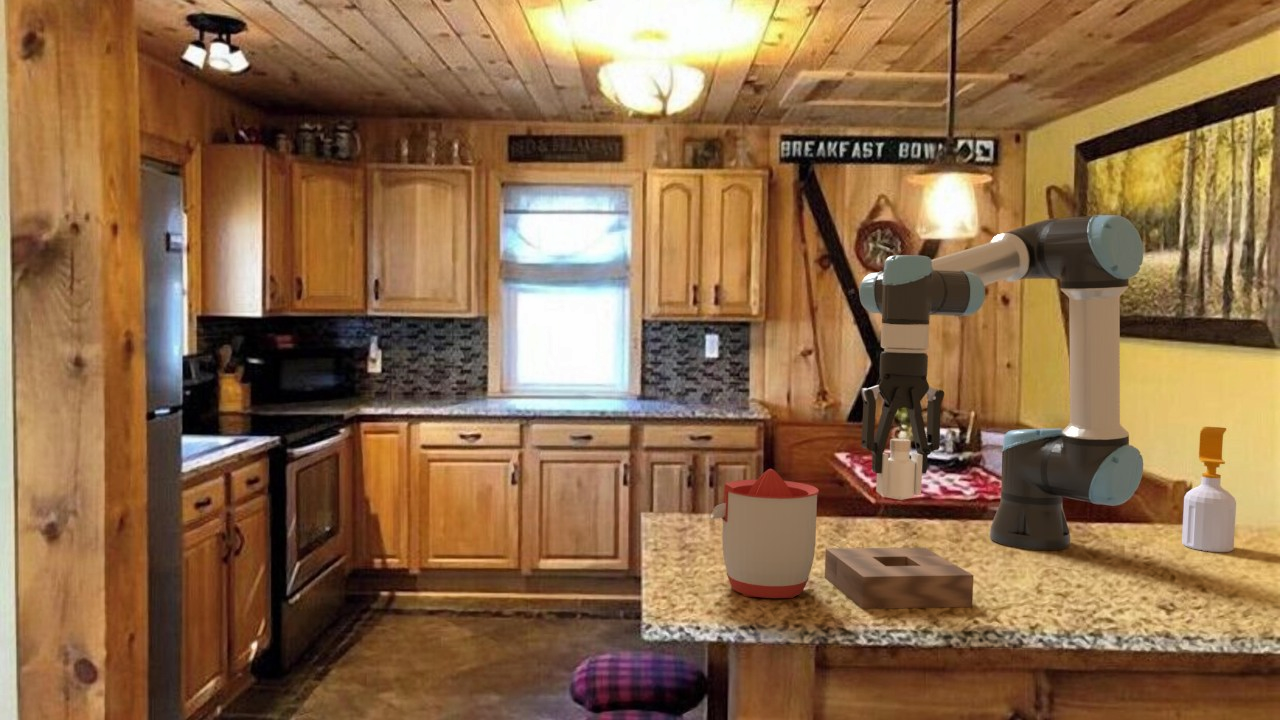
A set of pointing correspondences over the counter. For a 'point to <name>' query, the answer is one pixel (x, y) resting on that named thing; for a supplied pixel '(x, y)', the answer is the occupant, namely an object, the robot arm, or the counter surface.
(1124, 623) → the counter surface
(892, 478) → the pepper shaker
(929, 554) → the socket block
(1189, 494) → the soap bottle
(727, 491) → the citrus juicer
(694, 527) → the counter surface
